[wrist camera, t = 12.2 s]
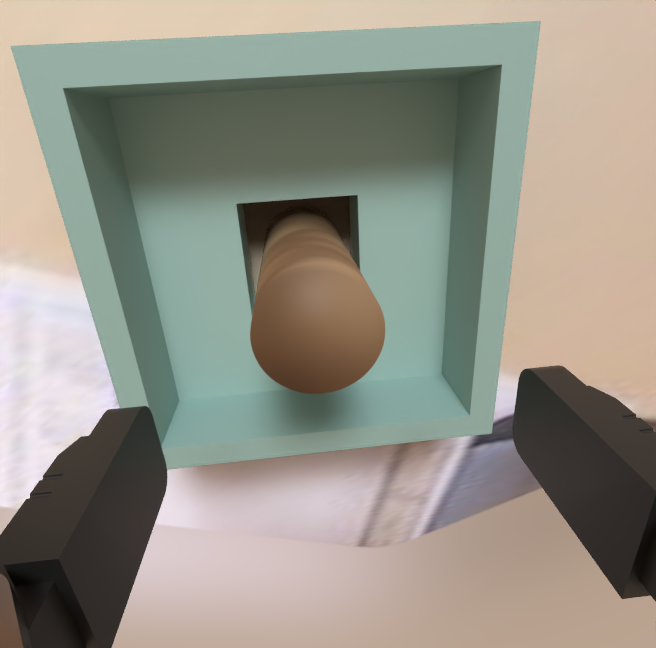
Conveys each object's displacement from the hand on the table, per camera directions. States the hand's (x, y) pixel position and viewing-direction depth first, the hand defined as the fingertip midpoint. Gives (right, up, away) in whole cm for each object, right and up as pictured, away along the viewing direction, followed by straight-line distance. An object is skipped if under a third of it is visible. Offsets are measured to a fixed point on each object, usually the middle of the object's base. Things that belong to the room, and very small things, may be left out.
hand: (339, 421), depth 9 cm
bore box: (-2, +7, +14) cm, 16 cm away
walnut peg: (-2, +7, +14) cm, 16 cm away
